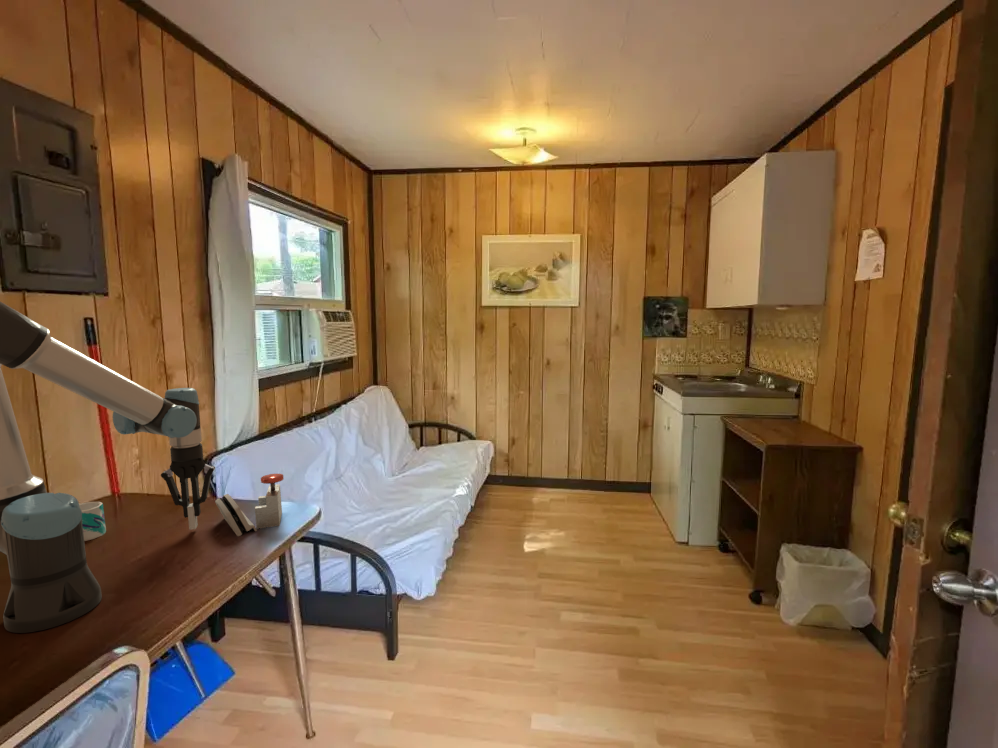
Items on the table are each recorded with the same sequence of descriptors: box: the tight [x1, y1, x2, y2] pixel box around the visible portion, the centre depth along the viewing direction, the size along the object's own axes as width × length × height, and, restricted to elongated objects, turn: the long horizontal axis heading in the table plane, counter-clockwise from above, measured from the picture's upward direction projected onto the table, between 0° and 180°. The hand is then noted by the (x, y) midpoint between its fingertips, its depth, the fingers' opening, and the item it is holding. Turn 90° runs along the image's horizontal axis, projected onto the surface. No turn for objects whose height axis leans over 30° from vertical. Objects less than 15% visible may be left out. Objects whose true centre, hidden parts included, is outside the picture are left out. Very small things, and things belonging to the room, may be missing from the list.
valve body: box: [254, 473, 284, 530], centre depth 148 cm, size 10×8×13 cm
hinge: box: [214, 493, 258, 537], centre depth 145 cm, size 17×5×10 cm, turn 40°
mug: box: [79, 501, 107, 542], centre depth 142 cm, size 8×12×8 cm
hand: (193, 527), depth 142 cm, fingers closed
